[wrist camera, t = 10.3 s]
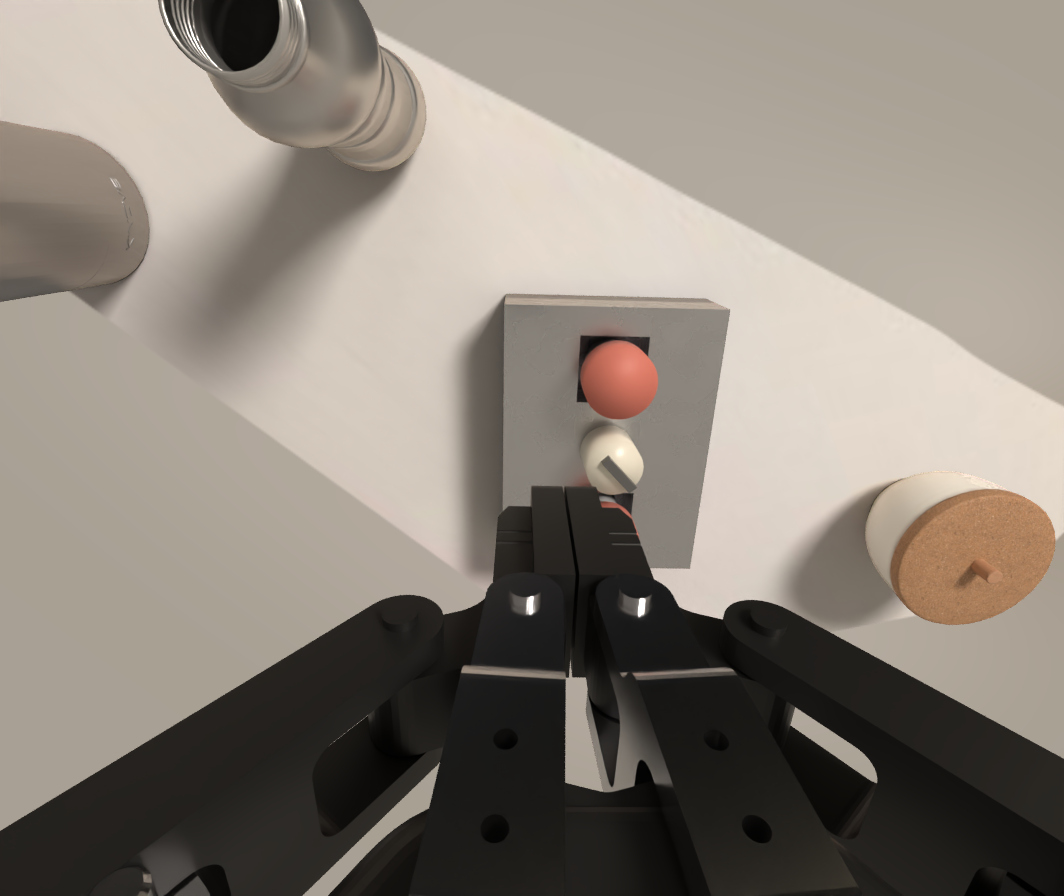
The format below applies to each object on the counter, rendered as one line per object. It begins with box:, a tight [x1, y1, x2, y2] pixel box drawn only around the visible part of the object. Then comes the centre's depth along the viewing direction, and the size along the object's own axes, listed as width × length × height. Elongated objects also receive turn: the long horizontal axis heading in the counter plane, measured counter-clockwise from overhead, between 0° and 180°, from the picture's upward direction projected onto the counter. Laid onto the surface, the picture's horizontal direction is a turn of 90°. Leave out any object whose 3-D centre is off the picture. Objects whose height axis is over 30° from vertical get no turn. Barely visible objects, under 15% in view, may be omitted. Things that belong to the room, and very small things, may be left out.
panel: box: [503, 294, 730, 569], centre depth 41 cm, size 14×19×5 cm
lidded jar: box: [865, 471, 1055, 625], centre depth 42 cm, size 11×11×9 cm
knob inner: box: [580, 339, 658, 420], centre depth 36 cm, size 4×4×6 cm
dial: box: [580, 425, 644, 495], centre depth 37 cm, size 4×4×4 cm
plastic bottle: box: [158, 0, 426, 171], centre depth 26 cm, size 6×7×20 cm
